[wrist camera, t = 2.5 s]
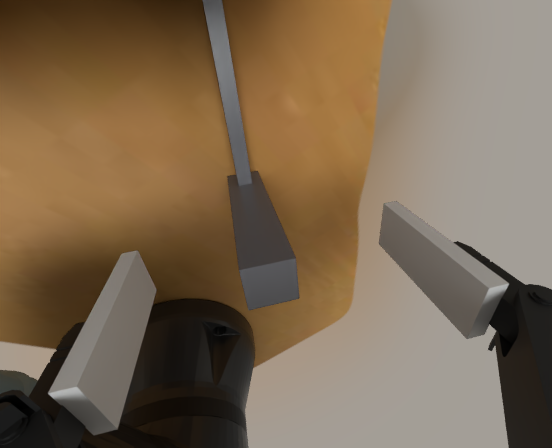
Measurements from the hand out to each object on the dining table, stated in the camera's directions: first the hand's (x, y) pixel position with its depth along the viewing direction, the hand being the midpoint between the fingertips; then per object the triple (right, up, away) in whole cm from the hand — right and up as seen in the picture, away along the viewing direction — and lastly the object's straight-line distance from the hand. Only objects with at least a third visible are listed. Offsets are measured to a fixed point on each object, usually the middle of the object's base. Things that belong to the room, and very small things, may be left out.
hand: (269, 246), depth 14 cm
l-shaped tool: (-3, +11, +4) cm, 12 cm away
